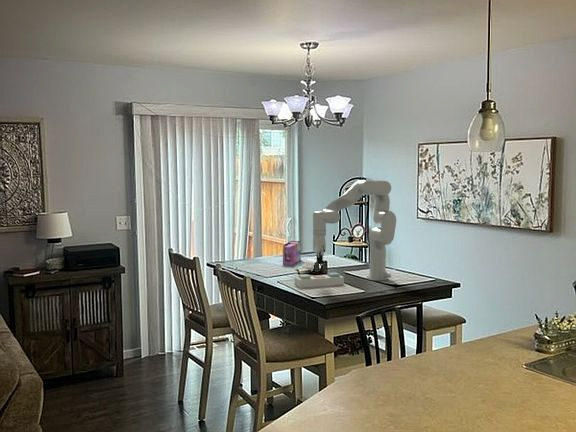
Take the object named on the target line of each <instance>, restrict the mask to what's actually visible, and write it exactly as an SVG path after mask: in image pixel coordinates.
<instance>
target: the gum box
mask: <svg viewBox="0 0 576 432" xmlns="http://www.w3.org/2000/svg"><path fill="white" fill-rule="evenodd" d="M301 243H302V242H301V240H298V241H297V240H290V241H288V242H287V243H285V244H283V245H282V264H283V265H286V266H287V265H288V266H295V264H297V263H298V262H300V261H301V259H302V251H301V250H302V249H301V246H302V244H301Z"/></svg>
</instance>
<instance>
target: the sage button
mask: <svg viewBox="0 0 576 432" xmlns="http://www.w3.org/2000/svg"><path fill="white" fill-rule="evenodd" d="M311 276H312V275H310V274H308V273H307V274H298V277H299V278H300V279H311Z"/></svg>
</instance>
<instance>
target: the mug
mask: <svg viewBox="0 0 576 432" xmlns="http://www.w3.org/2000/svg"><path fill="white" fill-rule="evenodd" d="M316 262H317V259H313V258H307V259H306V260H305V262H304V264H302V265H301V268H302V269H305V270H306V269H308V270H311V271H310V272H312V271H313V269H314V265H315V263H316ZM323 264H324V263H323ZM323 264H320V266H322V265H323ZM323 266H324V265H323ZM308 270H307V271H308Z"/></svg>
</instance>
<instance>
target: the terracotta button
mask: <svg viewBox="0 0 576 432" xmlns="http://www.w3.org/2000/svg"><path fill="white" fill-rule="evenodd" d="M322 275H323V274H319V276H316V275H312V276H313V277H315V278H325V277H324V276H322Z"/></svg>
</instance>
